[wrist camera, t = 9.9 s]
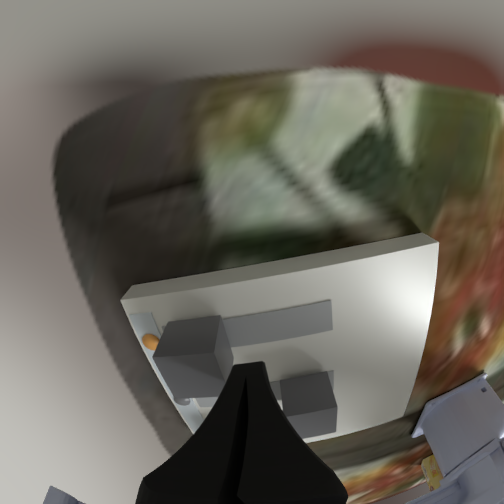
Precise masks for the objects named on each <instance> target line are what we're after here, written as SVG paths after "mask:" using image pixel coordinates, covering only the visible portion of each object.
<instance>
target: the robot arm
mask: <svg viewBox="0 0 504 504" xmlns="http://www.w3.org/2000/svg"><path fill="white" fill-rule="evenodd" d="M486 376H487V374H486V373H483V374H481V375H479V376H478V377H476V378H474V379H472V380H471V381H469V382H467V383H465V384H463V385H461V386H459V387H457V388H456V389H454V390H452V391H450V392H447V393H445V394H443V395H441V396H439V397H437V398H435V399H432V400H430V401H428V402H427V403H426V405H425V407H424V409H423V412H422V414H421V416H420V418H419V421H418V423H417V425H416V427H415V429H414V431H413V433H412V435H411V436H412V438H415V437H417V436H420V435H422V434H424V435H425V437H426V439H427V441H428V443H429V445H430V448H431V450H432V452H433V454H434V457H435V459H436V461H437V463H438V466H439V468H440V470H441V473H442V475H443V479H442V480H440V481H439V482H440V485H441V486H439V488H438V489H436V490H434V491H432V492H430V493H428V494H425V495H423V496H421V497H419V498H416V499H414V500H412V501H410V502H407V503H405V504H504V404H503V403H502V401H501V400H500V399H499V397H498V396H497V394H496V393H495V392H494V390H493V389H492V388H491V386H490V385H489V384H488V382H487V381H486V380H485V378H486ZM347 499H348V494H347V491H346V489H345V487H344V486H343V484H342V483H341V481H340V480H339V478H338V477H337V476H336V474H335V473H334V471H333V470H332V469H330V468H329V467H328V466H327V465H326V464H325V463H324V462H323V461H322V460H321V459H320V458H319V457H318V456H317V455H316V454H315V453H314V452H313V451H312V450H311V449H310V448H309V446H308V445H307V444H306V443H305V442H304V441H303V439H302V438H301V437H300V436H299V434H298V433H297V432H296V430H295V429H294V428H293V426H292V425H291V423H290V422H289V420H288V419H287V417H286V416H285V414H284V412H283V411H282V409H281V407H280V405H279V403H278V401H277V400H276V398H275V395H274V393H273V391H272V389H271V386H270V382H269V378H268V373H267V369H266V365H265V362H263V361H258V362H251V363H243V364H234V365H233V367H232V369H231V372H230V374H229V376H228V379H227V381H226V383H225V385H224V387H223V389H222V391H221V393H220V395H219V397H218V399H217V400H216V402H215V404H214V406H213V407H212V409H211V410H210V412H209V414H208V415H207V417H206V418H205V420H204V421H203V422H202V424H201V425H200V426H199V428H198V429H197V430H196V432H195V433H194V434H193V435H192V436H191V437H190V439H189V440H188V441H187V442H186V443H185V444H184V445H183V446H182V447H181V448H180V449H179V450H178V451H177V452H176V453H175V454H174V455H173V456H171V457H170V458H169V459H168V460H167V461H166V462H164V463H163V464H162V465H161V466H159V467H158V468H157V469H155V470H154V471H152V472H151V473H149V474H148V475H146V476H145V477H143V480H142V482H141V484H140V487H139V491H138V495H137V499H136V503H135V504H346V502H347ZM43 504H85V503H82V502H80V501H78V500H77V499H75V498H74V497H72V496H71V495H69V494H67V493H65V492H63V491H61V490H59V489H57V488H55V487H53V486H50V487H49V490H48V492H47V495H46V498H45V500H44V502H43Z"/></svg>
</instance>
